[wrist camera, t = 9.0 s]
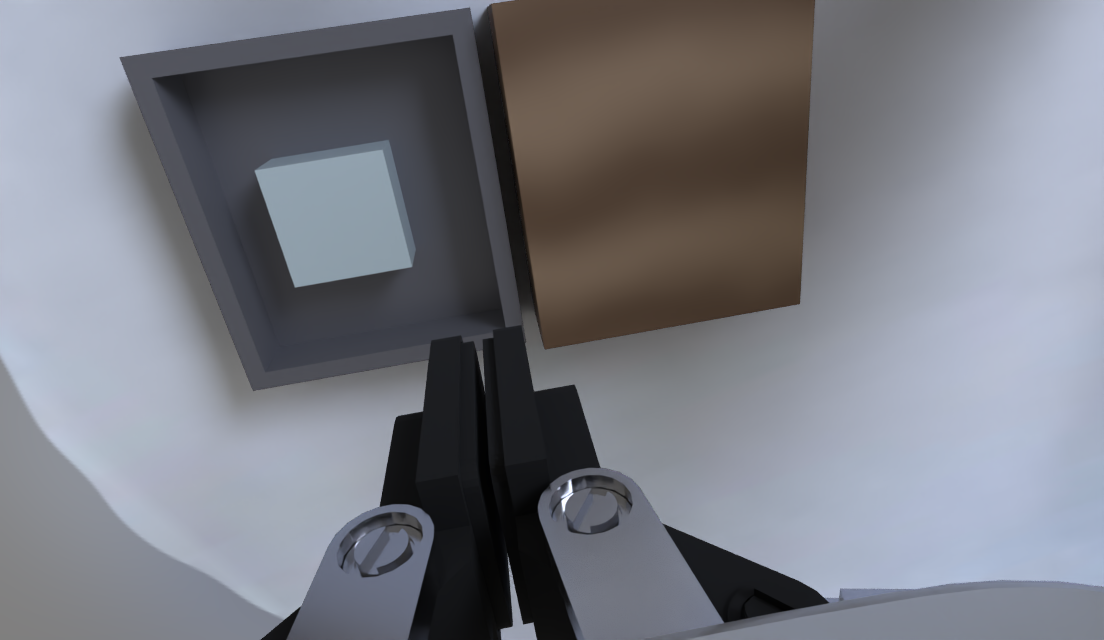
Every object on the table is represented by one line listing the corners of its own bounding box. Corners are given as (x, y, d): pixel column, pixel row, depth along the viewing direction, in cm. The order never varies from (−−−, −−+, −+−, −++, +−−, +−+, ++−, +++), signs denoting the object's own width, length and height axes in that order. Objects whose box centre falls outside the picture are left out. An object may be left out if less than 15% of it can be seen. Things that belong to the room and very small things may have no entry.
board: (487, 7, 26) (491, 3, 22) (768, -33, 26) (816, -43, 23) (535, 313, 32) (544, 349, 28) (762, 273, 32) (799, 303, 29)
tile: (382, 149, 25) (388, 139, 27) (254, 170, 24) (271, 159, 26) (412, 267, 27) (415, 249, 29) (294, 287, 26) (307, 268, 29)
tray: (156, 54, 25) (119, 57, 22) (468, 9, 26) (470, 7, 23) (271, 359, 31) (253, 390, 28) (520, 315, 32) (526, 342, 29)
